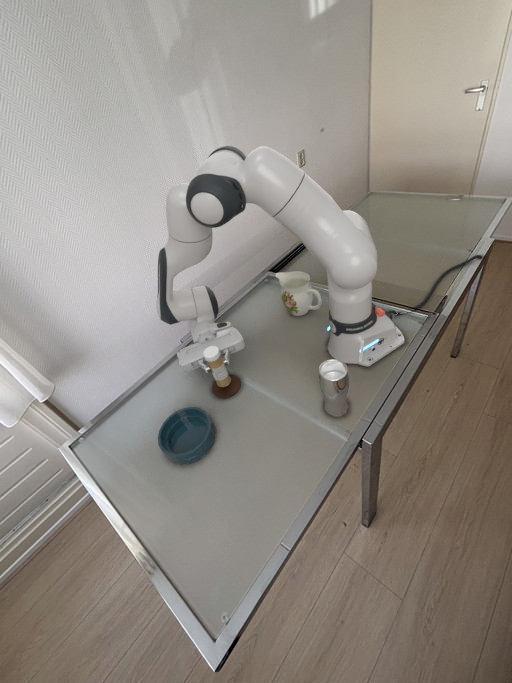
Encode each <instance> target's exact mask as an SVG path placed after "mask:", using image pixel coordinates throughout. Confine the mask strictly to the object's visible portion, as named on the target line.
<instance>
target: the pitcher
mask: <svg viewBox="0 0 512 683" xmlns="http://www.w3.org/2000/svg"><path fill="white" fill-rule="evenodd" d="M274 276H275V277H276V278H277V279H278V281H279V285H280V287H281V291H280V295H281V296H280V298H281V300H282V305H284V308H285V309H286V311H288V313H290V314H291V315H292V316H296V317H300V316H304V315H306V314H308V312H309V311H310V310H312V311H316V310H318V309H320V308H321V306H322V304H323V300H322V295H321V293H320V292H319V290H317V289H316V288H315V289H314V288H312V285H311V283H310V282H311V277H310V275H309V274H308V273H307V272H305V271H300V270H293V271H287V272H285V271H279V272H276V273H275V274H274ZM314 295H315V297H316V298H317V304H316V305H312V304H313V300H314Z"/></svg>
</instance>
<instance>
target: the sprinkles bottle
mask: <svg viewBox="0 0 512 683" xmlns="http://www.w3.org/2000/svg"><path fill="white" fill-rule="evenodd" d="M203 356H204V358H205V360H206V361H207V363H208V365H209V367H210V369H211V372H210V373H211V374H212V376H213V379H214V381H215V380H216V383H217V385H218V386H219V387H226V386H228V385H229V384H230V382H231V378H230V377H229V374H230V373H229V371H228V369H227V365H226V366H225V364H224V362H223V359H222V357H221V353H220V351H219V348H218V347H216V346H210V347H207V348H206V349H205V350H204V352H203Z"/></svg>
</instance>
